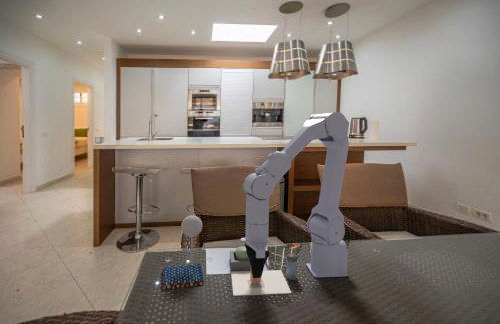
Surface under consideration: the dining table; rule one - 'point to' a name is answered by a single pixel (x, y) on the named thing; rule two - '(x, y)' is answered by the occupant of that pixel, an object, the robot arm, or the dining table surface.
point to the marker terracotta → (254, 280)
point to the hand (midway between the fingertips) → (256, 274)
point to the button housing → (238, 263)
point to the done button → (241, 253)
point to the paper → (269, 283)
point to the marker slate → (291, 266)
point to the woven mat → (182, 276)
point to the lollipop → (191, 229)
